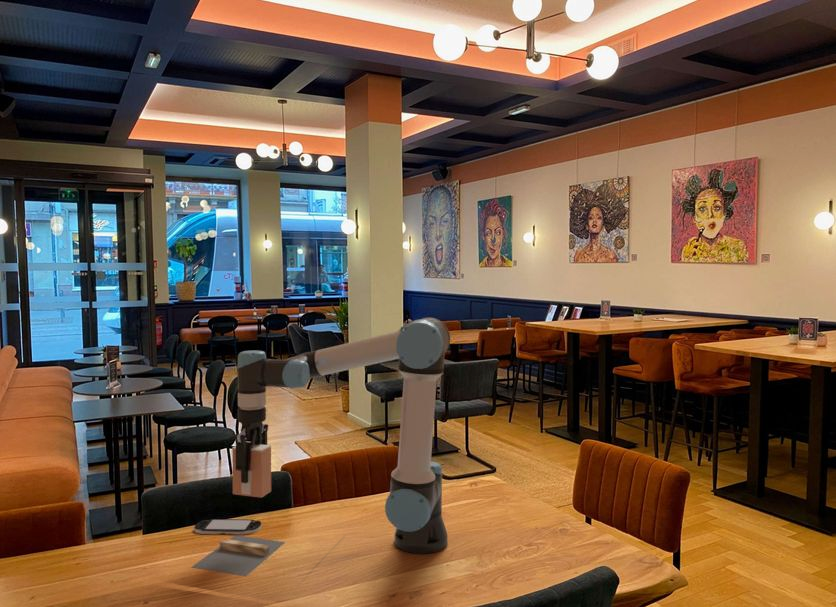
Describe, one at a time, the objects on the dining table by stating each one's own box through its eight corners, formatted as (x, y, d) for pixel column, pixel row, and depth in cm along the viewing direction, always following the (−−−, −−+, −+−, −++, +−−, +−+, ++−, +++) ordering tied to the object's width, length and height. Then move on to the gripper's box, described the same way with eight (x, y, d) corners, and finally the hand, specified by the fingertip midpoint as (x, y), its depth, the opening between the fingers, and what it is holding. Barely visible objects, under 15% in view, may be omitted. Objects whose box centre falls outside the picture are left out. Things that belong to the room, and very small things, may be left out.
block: (271, 491, 167) (271, 445, 167) (261, 497, 162) (261, 450, 162) (242, 487, 170) (242, 442, 169) (232, 494, 165) (232, 447, 164)
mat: (285, 545, 168) (285, 542, 168) (246, 579, 149) (246, 576, 149) (235, 537, 173) (235, 535, 173) (191, 570, 153) (191, 567, 153)
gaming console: (189, 538, 173) (189, 529, 173) (201, 525, 182) (201, 516, 182) (256, 538, 173) (256, 530, 173) (264, 525, 182) (264, 517, 182)
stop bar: (269, 552, 162) (269, 545, 162) (265, 555, 160) (265, 548, 160) (224, 545, 166) (224, 538, 166) (220, 549, 164) (219, 541, 164)
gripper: (257, 399, 175) (257, 478, 176) (220, 413, 157) (221, 500, 158) (280, 401, 173) (280, 480, 174) (245, 415, 155) (246, 503, 156)
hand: (252, 489), depth 166 cm, fingers closed on block, 5 cm apart
